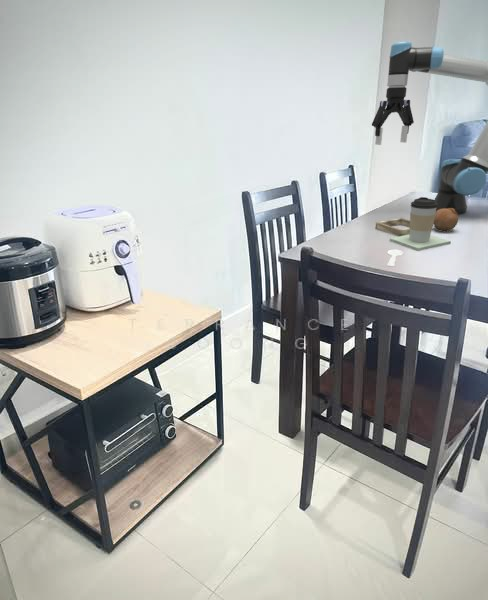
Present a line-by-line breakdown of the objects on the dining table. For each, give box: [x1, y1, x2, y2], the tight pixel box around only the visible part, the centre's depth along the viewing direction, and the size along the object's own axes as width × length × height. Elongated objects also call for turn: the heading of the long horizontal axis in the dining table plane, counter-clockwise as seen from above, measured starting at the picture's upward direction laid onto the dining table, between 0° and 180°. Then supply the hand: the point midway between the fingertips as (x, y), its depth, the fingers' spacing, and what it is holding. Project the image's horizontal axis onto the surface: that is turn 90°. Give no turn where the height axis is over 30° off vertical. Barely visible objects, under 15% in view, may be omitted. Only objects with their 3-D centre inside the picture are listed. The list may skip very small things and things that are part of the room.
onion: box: [433, 208, 459, 232], centre depth 175 cm, size 10×9×10 cm
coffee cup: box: [409, 196, 438, 242], centre depth 159 cm, size 9×9×15 cm
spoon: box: [386, 248, 404, 267], centre depth 149 cm, size 5×18×1 cm, turn 156°
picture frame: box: [375, 217, 410, 237], centre depth 178 cm, size 14×14×2 cm
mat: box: [389, 234, 452, 252], centre depth 163 cm, size 16×14×1 cm
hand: (390, 143), depth 183 cm, fingers open, 13 cm apart
